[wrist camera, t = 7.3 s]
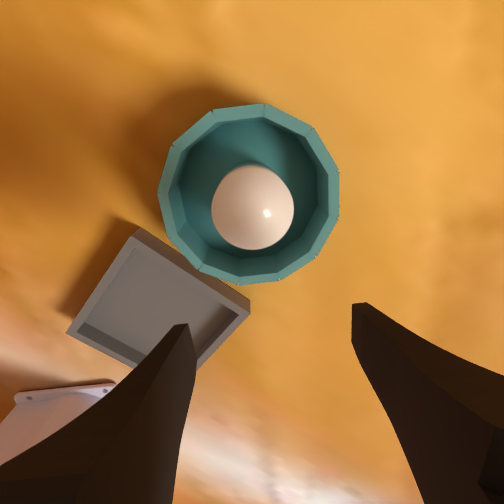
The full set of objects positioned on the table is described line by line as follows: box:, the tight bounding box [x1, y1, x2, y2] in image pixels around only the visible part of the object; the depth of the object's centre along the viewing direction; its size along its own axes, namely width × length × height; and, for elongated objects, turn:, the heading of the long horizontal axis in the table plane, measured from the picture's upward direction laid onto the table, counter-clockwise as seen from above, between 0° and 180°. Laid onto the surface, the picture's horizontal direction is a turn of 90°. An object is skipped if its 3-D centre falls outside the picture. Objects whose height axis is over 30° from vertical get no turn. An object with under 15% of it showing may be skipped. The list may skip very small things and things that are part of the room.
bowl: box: [157, 103, 339, 285], centre depth 18 cm, size 10×10×3 cm
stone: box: [211, 162, 294, 250], centre depth 17 cm, size 4×4×4 cm
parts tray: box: [66, 227, 250, 371], centre depth 22 cm, size 10×10×2 cm
